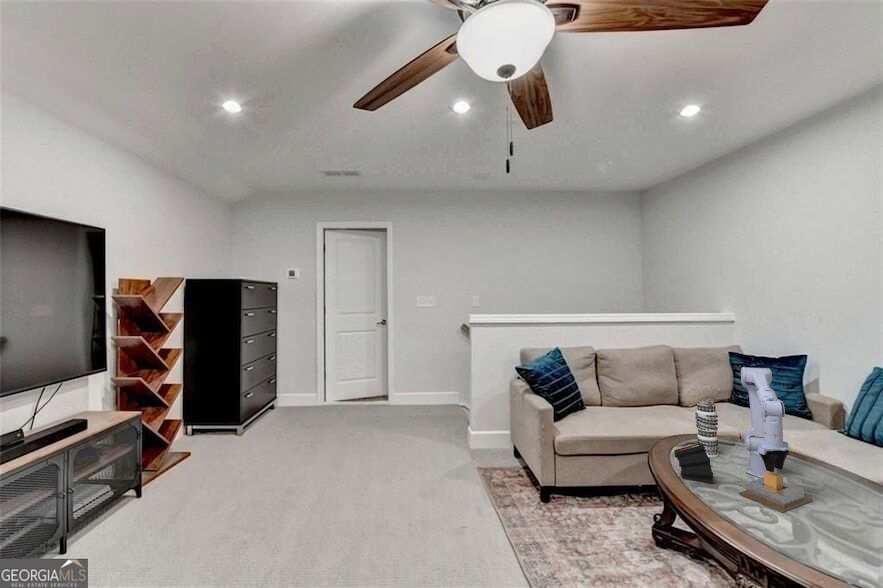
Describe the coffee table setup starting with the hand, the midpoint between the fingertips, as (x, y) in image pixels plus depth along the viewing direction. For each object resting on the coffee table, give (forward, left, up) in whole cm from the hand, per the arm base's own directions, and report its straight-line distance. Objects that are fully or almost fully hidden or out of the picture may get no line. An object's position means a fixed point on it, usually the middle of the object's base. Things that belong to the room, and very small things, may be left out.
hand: (774, 469), depth 152 cm
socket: (0, 0, -10) cm, 10 cm away
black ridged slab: (+12, -23, -11) cm, 28 cm away
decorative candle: (-18, -38, -11) cm, 43 cm away
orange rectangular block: (0, 0, -9) cm, 9 cm away
